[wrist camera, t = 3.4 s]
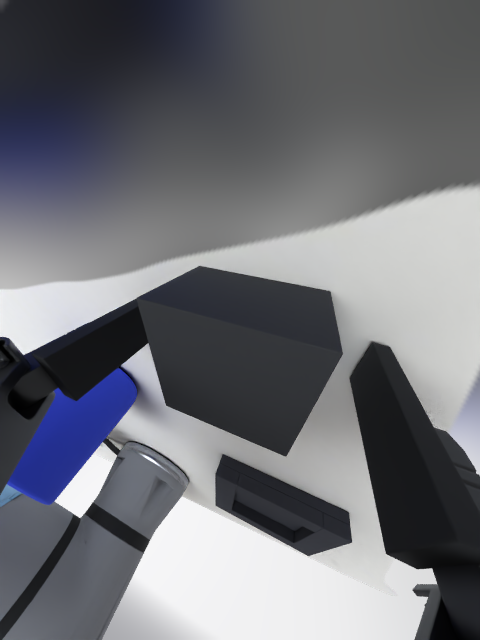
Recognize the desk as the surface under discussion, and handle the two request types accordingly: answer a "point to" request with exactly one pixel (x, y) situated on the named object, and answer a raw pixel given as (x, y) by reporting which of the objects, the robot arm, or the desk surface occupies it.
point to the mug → (71, 437)
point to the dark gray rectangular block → (242, 351)
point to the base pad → (280, 509)
